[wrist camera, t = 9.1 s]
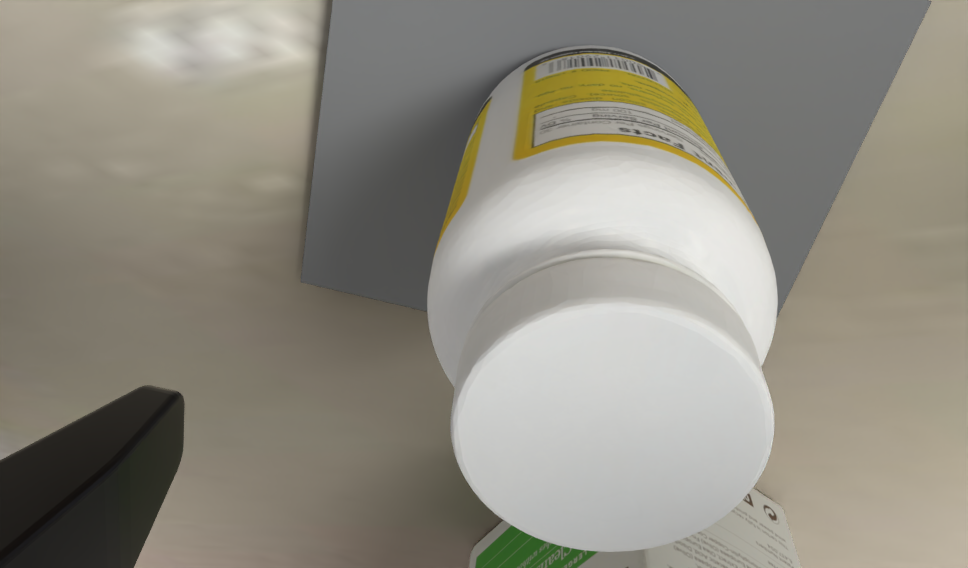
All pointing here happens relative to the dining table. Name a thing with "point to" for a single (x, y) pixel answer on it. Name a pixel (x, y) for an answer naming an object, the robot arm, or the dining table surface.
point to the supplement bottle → (602, 308)
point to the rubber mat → (579, 22)
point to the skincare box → (681, 564)
